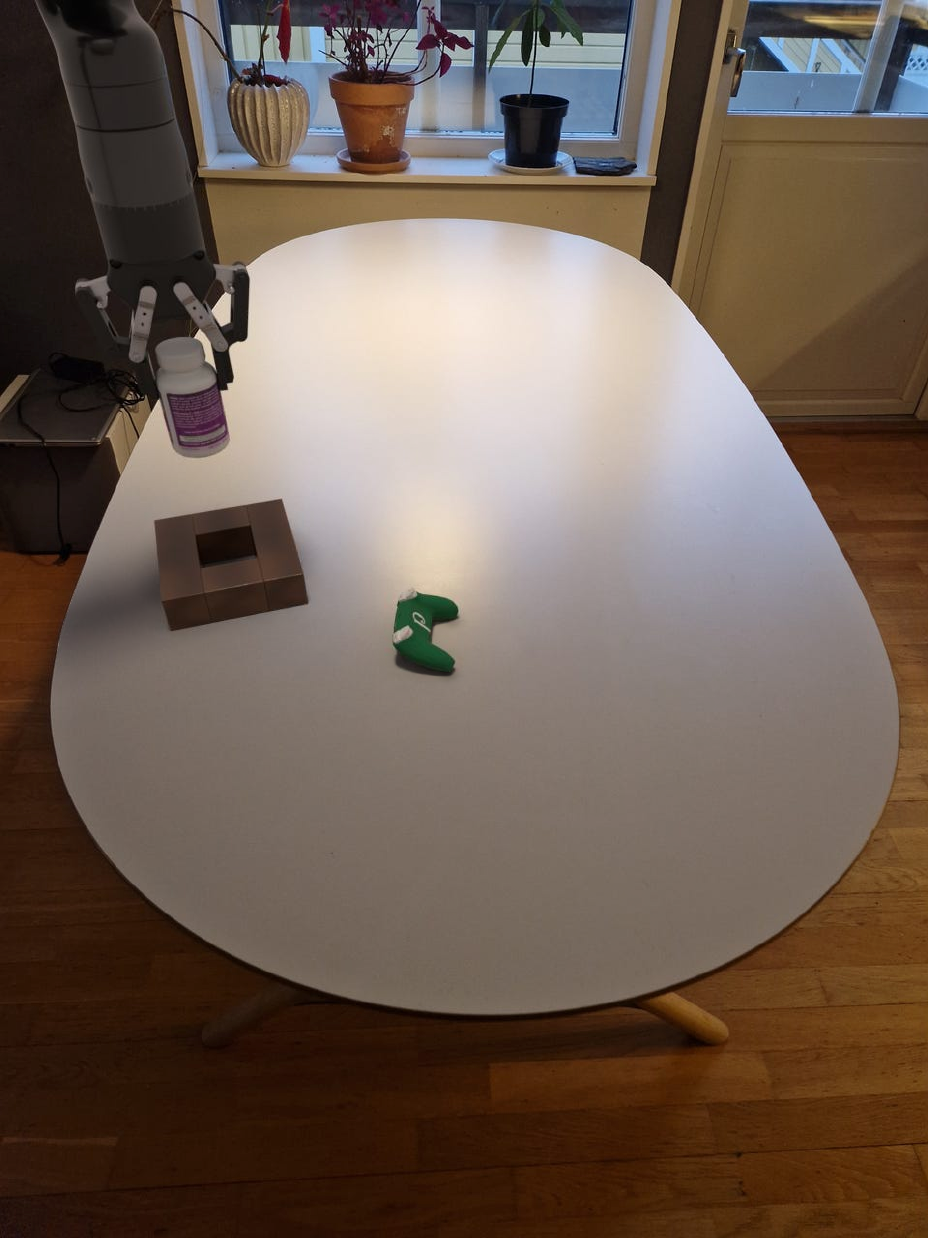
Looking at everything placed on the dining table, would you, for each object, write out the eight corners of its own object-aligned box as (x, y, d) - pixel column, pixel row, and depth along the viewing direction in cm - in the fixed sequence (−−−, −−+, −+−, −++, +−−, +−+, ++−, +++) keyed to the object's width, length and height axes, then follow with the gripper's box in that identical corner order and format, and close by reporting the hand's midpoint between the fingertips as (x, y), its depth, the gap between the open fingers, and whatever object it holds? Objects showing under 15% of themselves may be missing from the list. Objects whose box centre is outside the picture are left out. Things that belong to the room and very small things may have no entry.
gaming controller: (436, 623, 89) (393, 591, 87) (462, 604, 88) (418, 571, 85) (430, 688, 83) (383, 656, 80) (458, 669, 81) (411, 635, 78)
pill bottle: (243, 439, 81) (224, 341, 74) (203, 466, 77) (179, 366, 71) (200, 424, 83) (178, 327, 76) (159, 449, 79) (133, 350, 73)
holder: (170, 631, 86) (161, 600, 83) (162, 549, 95) (153, 520, 93) (308, 603, 89) (303, 573, 86) (286, 527, 99) (281, 498, 96)
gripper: (232, 164, 69) (264, 362, 81) (42, 180, 66) (104, 383, 77) (243, 193, 64) (276, 399, 75) (38, 211, 61) (104, 424, 72)
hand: (188, 390), depth 76 cm, fingers closed on pill bottle, 5 cm apart
